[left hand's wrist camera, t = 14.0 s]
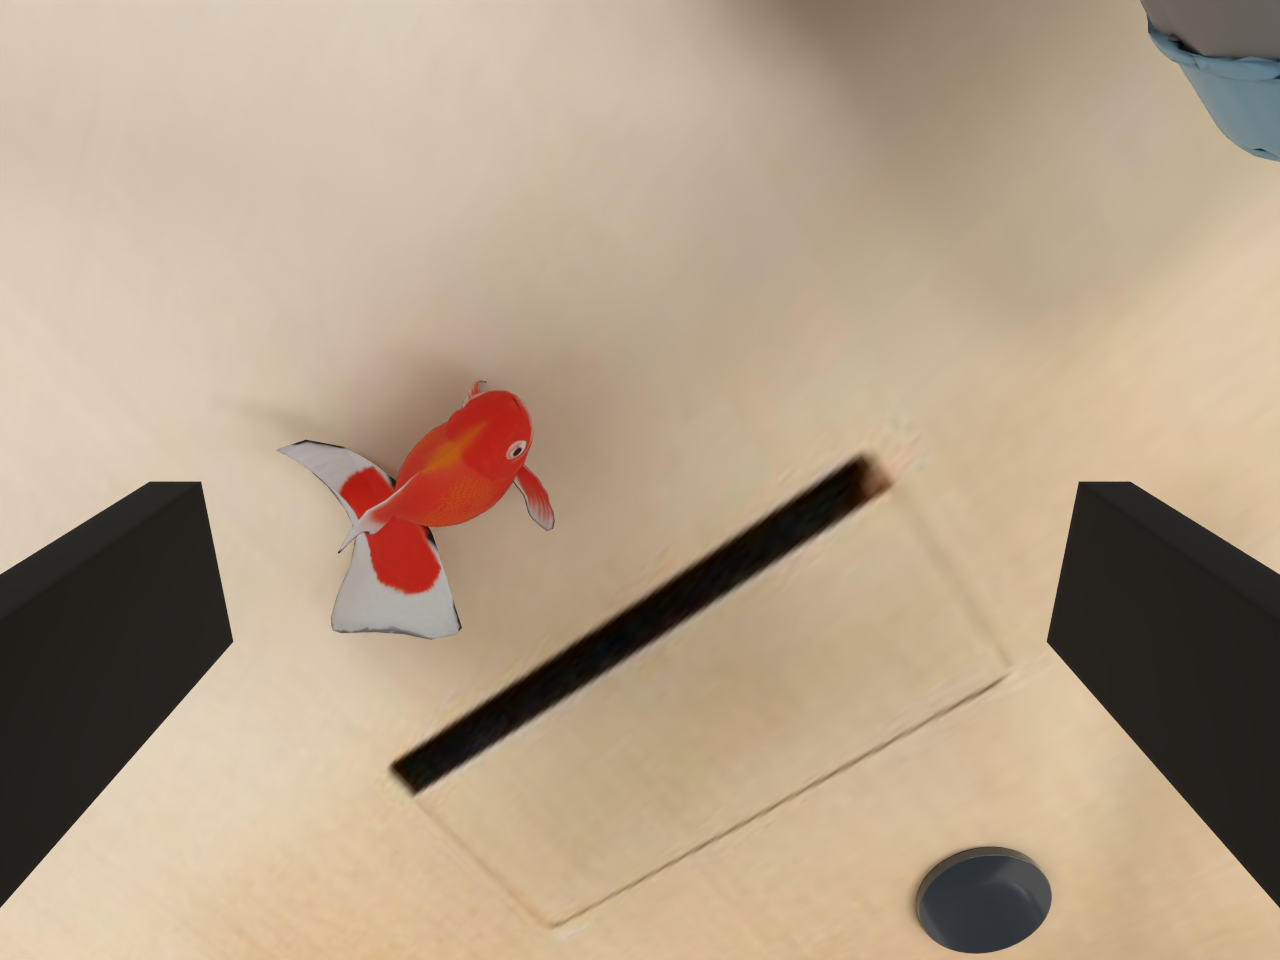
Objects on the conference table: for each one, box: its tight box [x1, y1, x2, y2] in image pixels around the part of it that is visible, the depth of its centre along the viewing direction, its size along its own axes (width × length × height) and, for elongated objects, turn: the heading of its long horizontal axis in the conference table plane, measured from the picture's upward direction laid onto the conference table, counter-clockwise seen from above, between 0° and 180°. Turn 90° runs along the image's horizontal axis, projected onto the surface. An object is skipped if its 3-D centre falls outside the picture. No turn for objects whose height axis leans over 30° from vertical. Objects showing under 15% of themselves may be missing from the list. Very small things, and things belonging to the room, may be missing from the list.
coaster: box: [916, 847, 1052, 954], centre depth 50 cm, size 8×8×1 cm
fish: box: [277, 379, 554, 639], centre depth 37 cm, size 11×16×10 cm
